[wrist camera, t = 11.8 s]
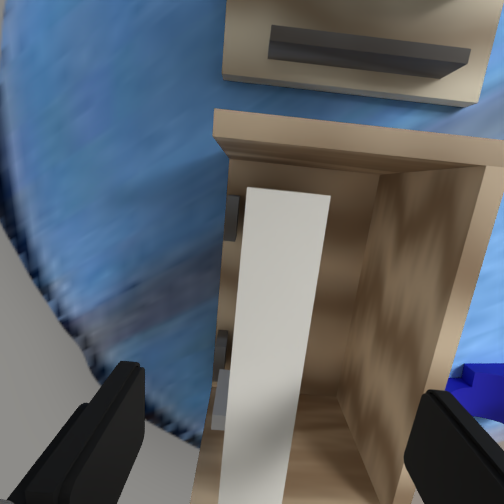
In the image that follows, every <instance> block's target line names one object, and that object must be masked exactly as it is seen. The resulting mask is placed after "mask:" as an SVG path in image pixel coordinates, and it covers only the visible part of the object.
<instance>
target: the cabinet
mask: <svg viewBox="0 0 504 504" xmlns="http://www.w3.org/2000/svg"><path fill="white" fill-rule="evenodd" d="M213 137H214V139H215V140H216V141H217V143H218V144H219V145H220V147H221V148H222V149H223V151H224V152H225V153H226V155H227V156H228V157H229V172H228V185H227V198H226V211H225V223H224V236H223V249H222V262H221V275H220V288H219V301H218V313H217V326H216V339H215V352H214V365H213V378H212V388H211V394H210V399H209V404H208V409H207V415H206V420H205V425H204V431H203V436H202V441H201V447H200V452H199V458H198V463H197V468H196V473H195V479H194V484H193V489H192V495H191V500H190V504H218V498H219V487H220V476H221V465H222V454H223V444H224V433H225V431H224V430H211V423H212V413H213V407H214V401H215V394H216V388H217V382H218V376H219V370H220V369H223V370H230V368H231V357H232V346H233V335H234V324H235V313H236V303H237V292H238V281H239V270H240V259H241V248H242V237H243V227H244V216H245V205H246V194H247V187H258V188H268V189H278V190H288V191H296V192H304V193H312V194H320V195H328V196H331V198H330V204H329V211H328V217H327V223H326V229H325V236H324V242H323V248H322V255H321V261H320V267H319V273H318V280H317V286H316V292H315V298H314V305H313V311H312V317H311V324H310V330H309V336H308V342H307V349H306V355H305V361H304V367H303V374H302V380H301V386H300V393H299V399H298V405H297V411H296V418H295V424H294V430H293V436H292V443H291V449H290V455H289V462H288V468H287V474H286V480H285V487H284V493H283V499H282V504H411V501H412V499H413V495H414V492H415V488H416V487H415V485H414V483H413V481H412V479H411V477H410V475H409V473H408V471H407V470H406V467H405V464H404V452H405V449H406V445H407V442H408V439H409V435H410V432H411V429H412V425H413V422H414V419H415V415H416V412H417V409H418V406H419V402H420V399H421V396H422V394H425V393H426V391H427V390H429V389H433V390H444V391H445V388H446V384H447V381H448V377H449V374H450V371H451V367H452V364H453V361H454V357H455V354H456V351H457V347H458V344H459V340H460V337H461V334H462V330H463V327H464V324H465V320H466V317H467V314H468V310H469V307H470V303H471V300H472V297H473V293H474V290H475V287H476V283H477V280H478V276H479V273H480V270H481V266H482V263H483V260H484V256H485V253H486V250H487V246H488V243H489V239H490V236H491V233H492V229H493V226H494V223H495V219H496V216H497V213H498V209H499V206H500V202H501V199H502V196H503V192H504V140H497V139H488V138H478V137H469V136H460V135H451V134H442V133H433V132H424V131H415V130H406V129H397V128H388V127H379V126H370V125H361V124H352V123H343V122H334V121H325V120H316V119H307V118H298V117H288V116H279V115H270V114H261V113H252V112H243V111H234V110H225V109H216V108H214V121H213Z"/></svg>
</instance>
